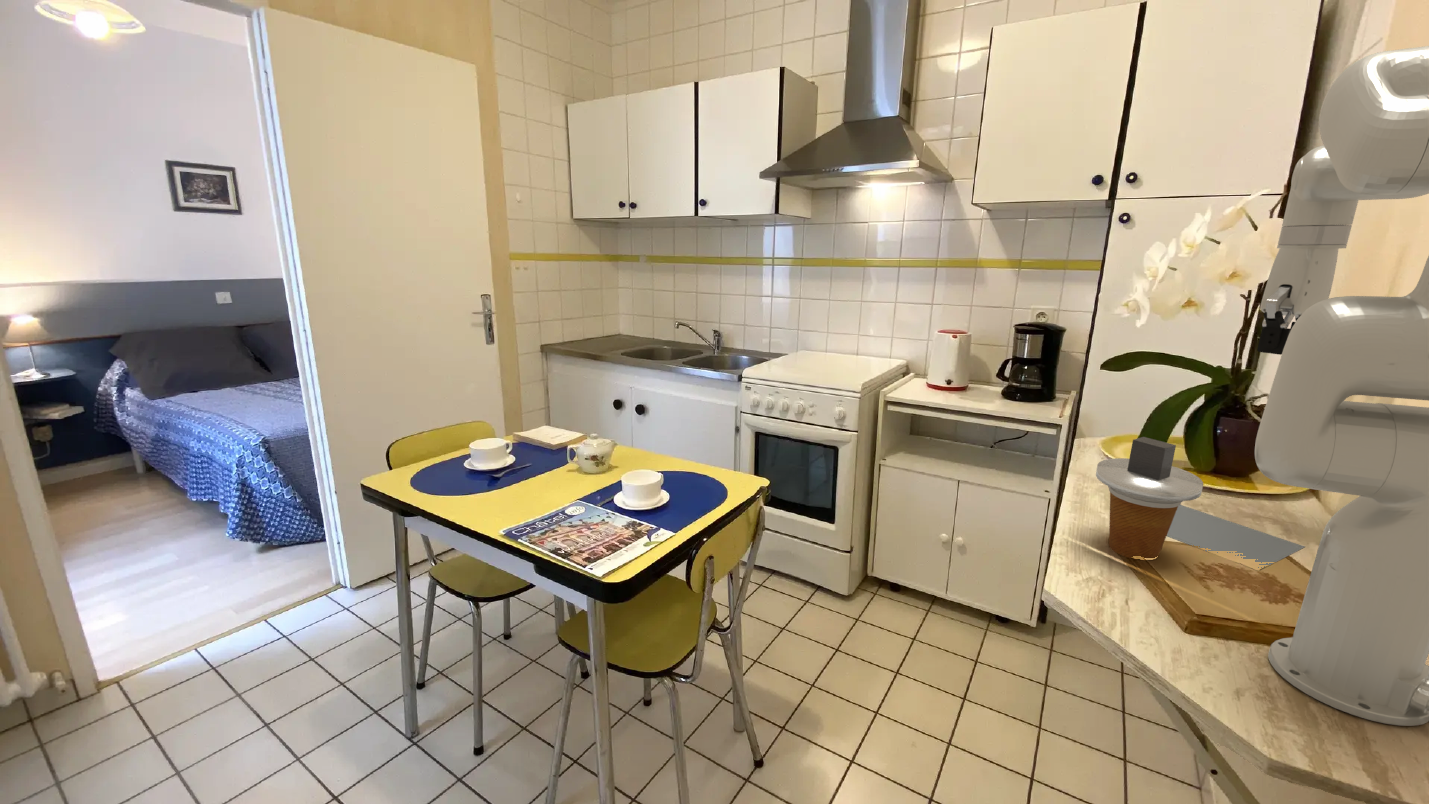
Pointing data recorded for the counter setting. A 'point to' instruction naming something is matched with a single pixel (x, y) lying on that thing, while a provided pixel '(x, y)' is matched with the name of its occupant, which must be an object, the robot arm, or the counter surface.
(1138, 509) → the disposable coffee cup
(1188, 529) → the mat
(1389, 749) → the counter surface
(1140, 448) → the lid
